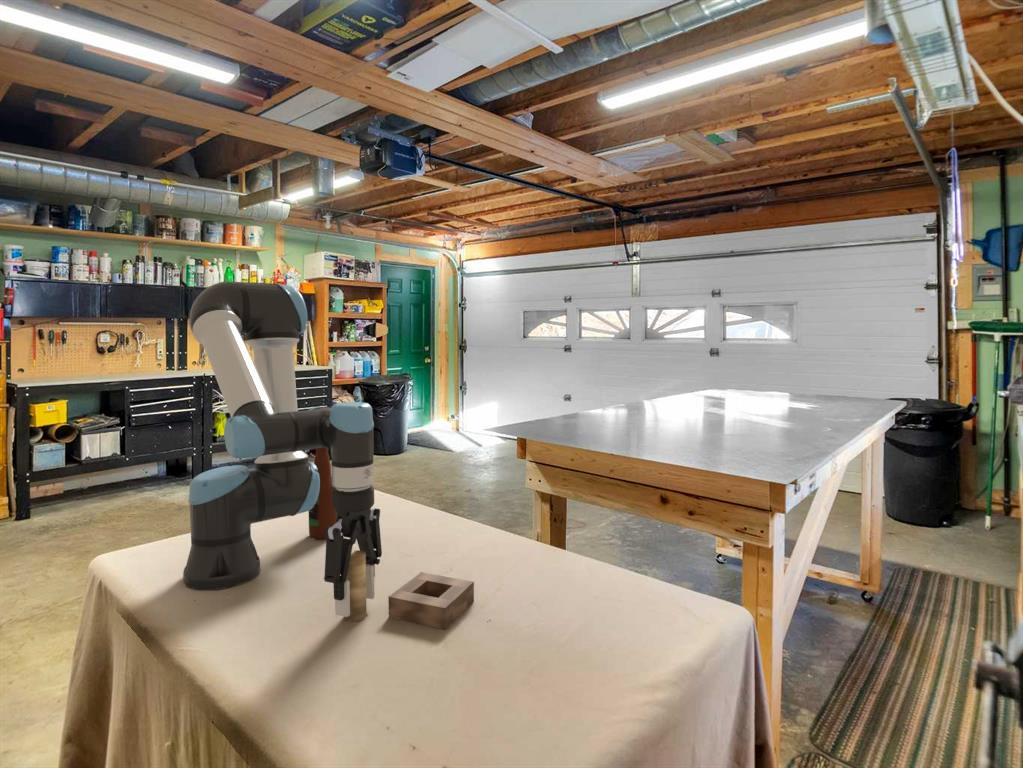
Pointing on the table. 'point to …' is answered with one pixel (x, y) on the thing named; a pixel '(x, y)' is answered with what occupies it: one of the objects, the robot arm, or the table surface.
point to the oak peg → (357, 585)
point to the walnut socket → (431, 600)
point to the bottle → (322, 498)
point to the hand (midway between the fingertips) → (355, 605)
